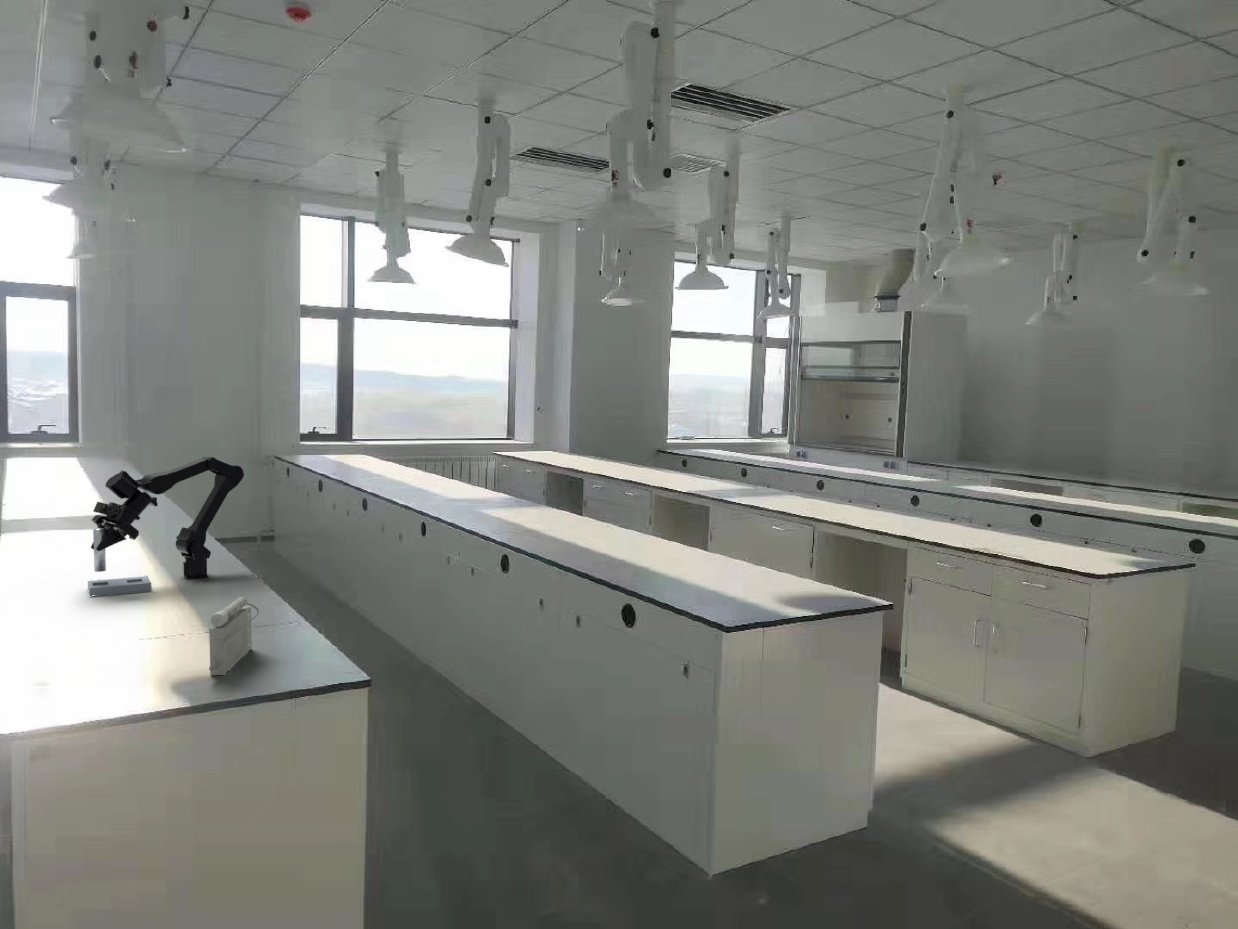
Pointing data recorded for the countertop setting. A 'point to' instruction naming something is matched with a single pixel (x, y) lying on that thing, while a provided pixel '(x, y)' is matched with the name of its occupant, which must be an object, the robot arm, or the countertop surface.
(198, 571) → the robot arm
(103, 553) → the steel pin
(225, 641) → the geiger counter
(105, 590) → the socket block
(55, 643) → the countertop surface
